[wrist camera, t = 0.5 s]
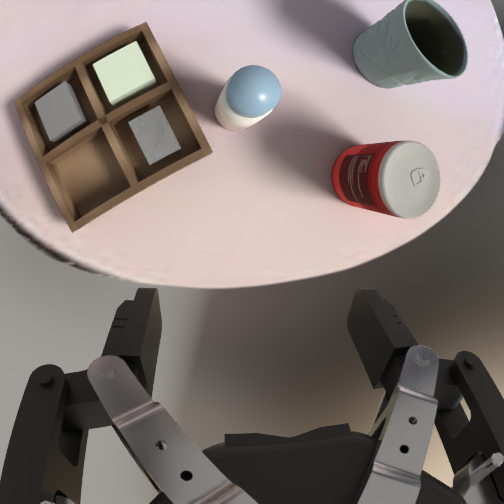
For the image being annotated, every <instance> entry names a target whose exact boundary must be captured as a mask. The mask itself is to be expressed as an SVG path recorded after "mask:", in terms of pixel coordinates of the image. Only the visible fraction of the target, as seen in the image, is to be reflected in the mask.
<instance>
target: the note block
mask: <svg viewBox="0 0 504 504" xmlns="http://www.w3.org/2000/svg"><path fill="white" fill-rule="evenodd" d="M93 66H94V69H95V71H96V73H97V75H98V78H99V80H100V82H101V84H102V86H103V89H104V91H105V93H106V95H107V97H108V99H109V102H110V103H111V104H112V105H113V106H114V107H115V108H116V107H118V106H120V105H122V104H123V103H125V102H127V101H129V100H131V99H133V98H134V97H136V96H138V95H140V94H142V93H144V92H146V91H148V90H150V89H152V88H154V87H156V86H157V84H156V81H155V77H154V75H153V73H152V71H151V69H150V67H149V65H148V63H147V61H146V59H145V57H144V55H143V53H142V51H141V49H140V47H139V45H138V43H137V41H135V42H133V43H131V44H129V45H127V46H125V47H123V48H121V49H119V50H118V51H116V52H114V53H112V54H110V55H108V56H106V57H105V58H103V59H101V60H99V61H97V62H96V63H94V64H93Z"/></svg>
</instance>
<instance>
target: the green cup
mask: <svg viewBox="0 0 504 504" xmlns="http://www.w3.org/2000/svg"><path fill="white" fill-rule="evenodd" d="M353 57H354V61H355V63H356V66H357V68H358V69H359V71H360V72H361V74H362V75H363V76H364V77H365V78H366V79H367V80H368V81H369V82H371V83H373V84H374V85H376V86H379V87H383V88H394V87H399V86H402V85H404V84H405V85H410V84H414V83H421V82H425V81H430V80H440V79H450V78H457V77H459V76H461V75H462V74H463V73H464V71H465V70H466V67H467V63H468V52H467V46H466V43H465V39H464V37H463V34H462V32H461V30H460V29H459V27H458V25H457V23H456V22H455V21H454V19H453V18H452V17H451V16H450V14H449V13H448V12H447V11H446V10H445V9H444V8H442V7H441V6H440V5H439V4H438V3H436V2H435V1H433V0H405V1H403V2H402V3H401V4H400V5H398V6H397V7H396V8H395V9H394V10H392V11H391V12H389V13H388V14H387V15H386V16H385V17H384V18H383V19H382V20H380V21H378V22H377V23H375V24H374V25H372V26H371V28H369V29H367V30H366V31H365V32H363V33H362V34H361V35H359V36H358V38H357V39H356V41H355V42H354V45H353Z"/></svg>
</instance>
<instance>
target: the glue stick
mask: <svg viewBox="0 0 504 504" xmlns="http://www.w3.org/2000/svg"><path fill="white" fill-rule="evenodd" d="M280 97H281V86H280V83H279V80H278V79H277V77H276V76H275V75H274V74H273V73H272V72H271V71H270V70H268V69H266V68H264V67H261V66H255V65H251V66H246V67H243V68H241V69H239V70H238V71H236V72H235V73H234V75H233V76H231V77H230V78H229V79H228V81H227V82H226V84H225V86H224V88H223V90H222V92H221V94H220V96H219V98H218V100H217V102H216V105H215V116H216V118H217V120H218V122H219V123H220V124H221V125H222V126H223V127H224V128H226V129H228V130H231V131H242V130H245V129H247V128H249V127H251V126H252V125H253V124H255V123H256V122H258V121H259V120H261V119H262V118H264V117H265V116H267V115H268V114H269V113H270V112H271V111H272V110H273V108H274V107H275V106H276V105H277V103H278V102H279V100H280Z"/></svg>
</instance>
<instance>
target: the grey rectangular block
mask: <svg viewBox="0 0 504 504" xmlns="http://www.w3.org/2000/svg"><path fill="white" fill-rule="evenodd" d="M128 123H129V125H130V127H131V129H132V131H133V133H134V135H135V137H136V139H137V141H138V143H139V145H140V147H141V149H142V151H143V153H144V155H145V157H146V159H147V161H148V163H149V165H151V166H153V165H154V164H156V163H158V162H160V161H162V160H164V159H165V158H167V157H169V156H171V155H173V154H175V153H177V152H179V151H181V147H180V145H179V143H178V141H177V139H176V137H175V135H174V133H173V131H172V129H171V127H170V125H169V123H168V121H167V119H166V117H165V115H164V113H163V111H162V109H161V107H160V105H159V106H157V107H156V108H154V109H152V110H150V111H148V112H146V113H144V114H142V115H140V116H139V117H137V118H135V119H133V120H131V121H129V122H128Z"/></svg>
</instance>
